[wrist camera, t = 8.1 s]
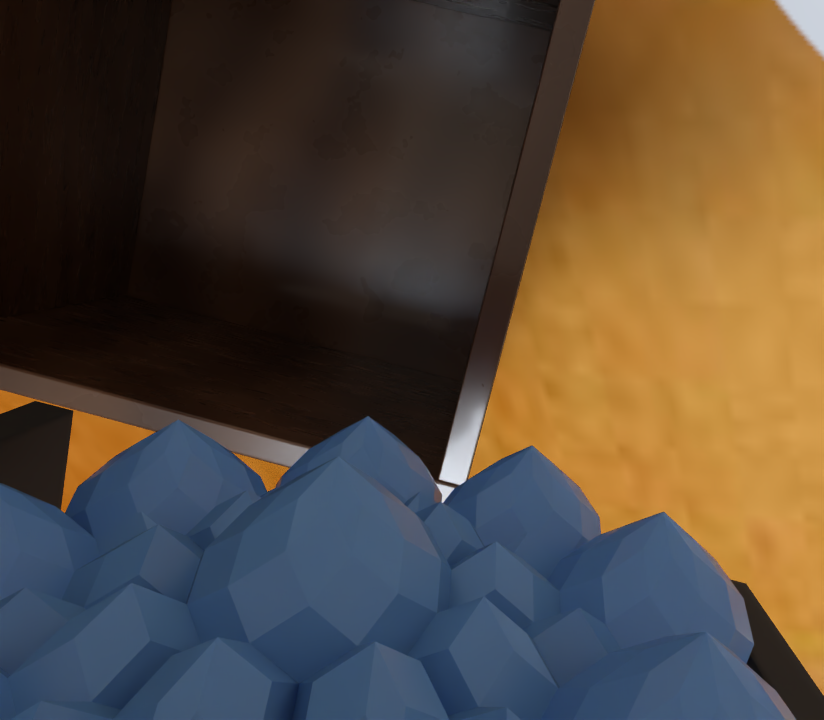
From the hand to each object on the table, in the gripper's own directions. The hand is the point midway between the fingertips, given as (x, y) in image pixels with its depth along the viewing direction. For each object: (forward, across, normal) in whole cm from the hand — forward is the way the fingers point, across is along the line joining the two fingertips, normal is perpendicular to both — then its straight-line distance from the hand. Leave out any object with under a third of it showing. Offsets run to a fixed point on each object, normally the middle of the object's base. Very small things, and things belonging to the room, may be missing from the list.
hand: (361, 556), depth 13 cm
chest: (+20, -7, +7) cm, 23 cm away
